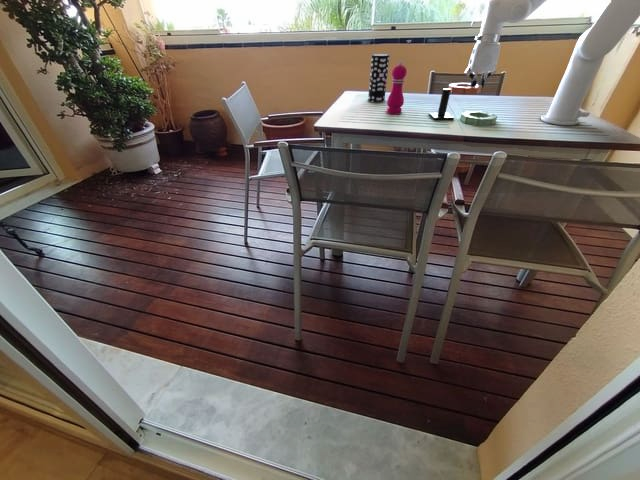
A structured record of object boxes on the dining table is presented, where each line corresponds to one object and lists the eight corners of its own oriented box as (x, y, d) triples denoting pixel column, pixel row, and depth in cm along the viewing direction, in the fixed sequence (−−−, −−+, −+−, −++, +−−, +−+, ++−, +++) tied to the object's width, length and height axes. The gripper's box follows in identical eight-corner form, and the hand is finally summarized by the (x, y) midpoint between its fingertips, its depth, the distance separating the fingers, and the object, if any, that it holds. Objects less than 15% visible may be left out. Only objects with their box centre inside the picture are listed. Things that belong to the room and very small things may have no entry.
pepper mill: (382, 112, 133) (388, 61, 121) (391, 109, 137) (397, 59, 125) (396, 115, 129) (404, 62, 117) (405, 112, 133) (413, 60, 121)
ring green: (485, 116, 126) (487, 110, 125) (500, 125, 116) (502, 119, 115) (456, 117, 126) (458, 111, 125) (468, 125, 116) (470, 119, 115)
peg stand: (446, 114, 129) (453, 86, 123) (453, 120, 123) (460, 90, 116) (428, 115, 129) (434, 87, 123) (434, 120, 123) (440, 91, 116)
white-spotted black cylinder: (372, 98, 157) (376, 53, 145) (387, 100, 153) (392, 54, 141) (365, 101, 152) (368, 55, 140) (379, 103, 148) (384, 56, 136)
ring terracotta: (472, 88, 134) (473, 82, 132) (484, 93, 124) (486, 87, 122) (444, 89, 134) (445, 83, 133) (454, 94, 124) (456, 88, 123)
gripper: (472, 40, 115) (460, 92, 126) (514, 39, 115) (498, 91, 126) (464, 39, 121) (453, 89, 132) (504, 38, 121) (490, 88, 132)
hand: (475, 90), depth 129 cm, fingers closed on ring terracotta, 2 cm apart
